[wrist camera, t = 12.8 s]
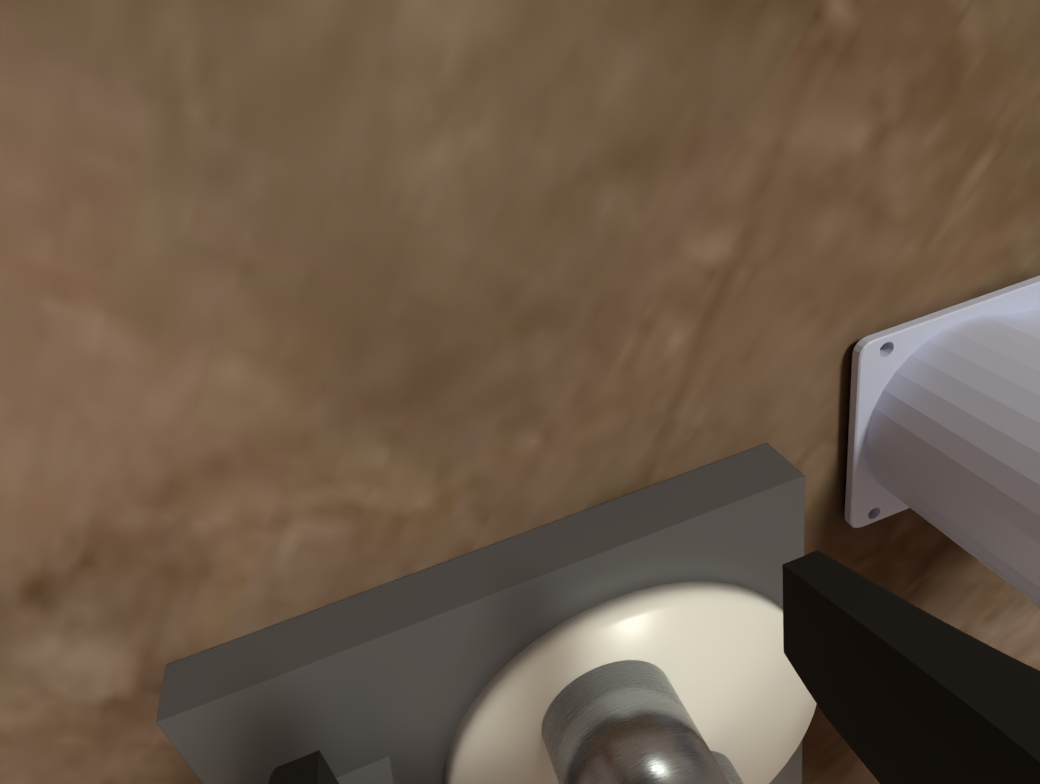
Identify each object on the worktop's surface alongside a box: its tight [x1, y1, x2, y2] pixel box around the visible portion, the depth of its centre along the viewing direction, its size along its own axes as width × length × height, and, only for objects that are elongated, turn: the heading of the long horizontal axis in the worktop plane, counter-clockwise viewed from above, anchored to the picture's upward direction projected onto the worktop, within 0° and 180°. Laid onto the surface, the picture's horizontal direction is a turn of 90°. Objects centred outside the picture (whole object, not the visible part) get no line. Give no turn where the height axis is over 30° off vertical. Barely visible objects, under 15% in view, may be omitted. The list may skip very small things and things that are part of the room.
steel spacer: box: [541, 660, 730, 784], centre depth 21 cm, size 4×4×4 cm
